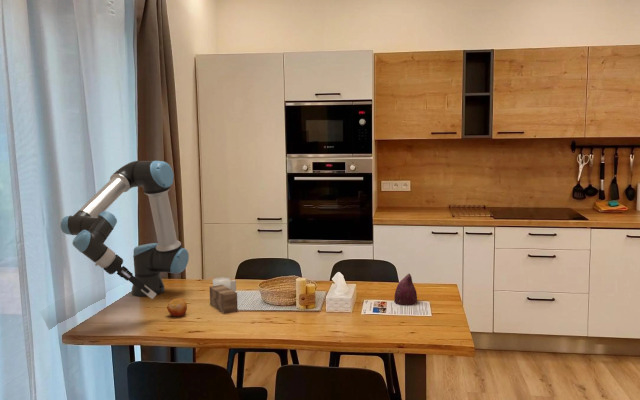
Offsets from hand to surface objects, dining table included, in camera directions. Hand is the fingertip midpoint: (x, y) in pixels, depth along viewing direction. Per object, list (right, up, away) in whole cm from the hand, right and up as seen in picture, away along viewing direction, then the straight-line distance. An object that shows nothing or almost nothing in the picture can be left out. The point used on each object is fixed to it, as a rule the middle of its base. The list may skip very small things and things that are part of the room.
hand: (153, 296), depth 239 cm
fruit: (+8, -9, +7) cm, 14 cm away
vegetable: (+105, -6, +19) cm, 107 cm away
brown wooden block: (+26, -8, +16) cm, 31 cm away
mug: (+24, -6, +31) cm, 39 cm away
